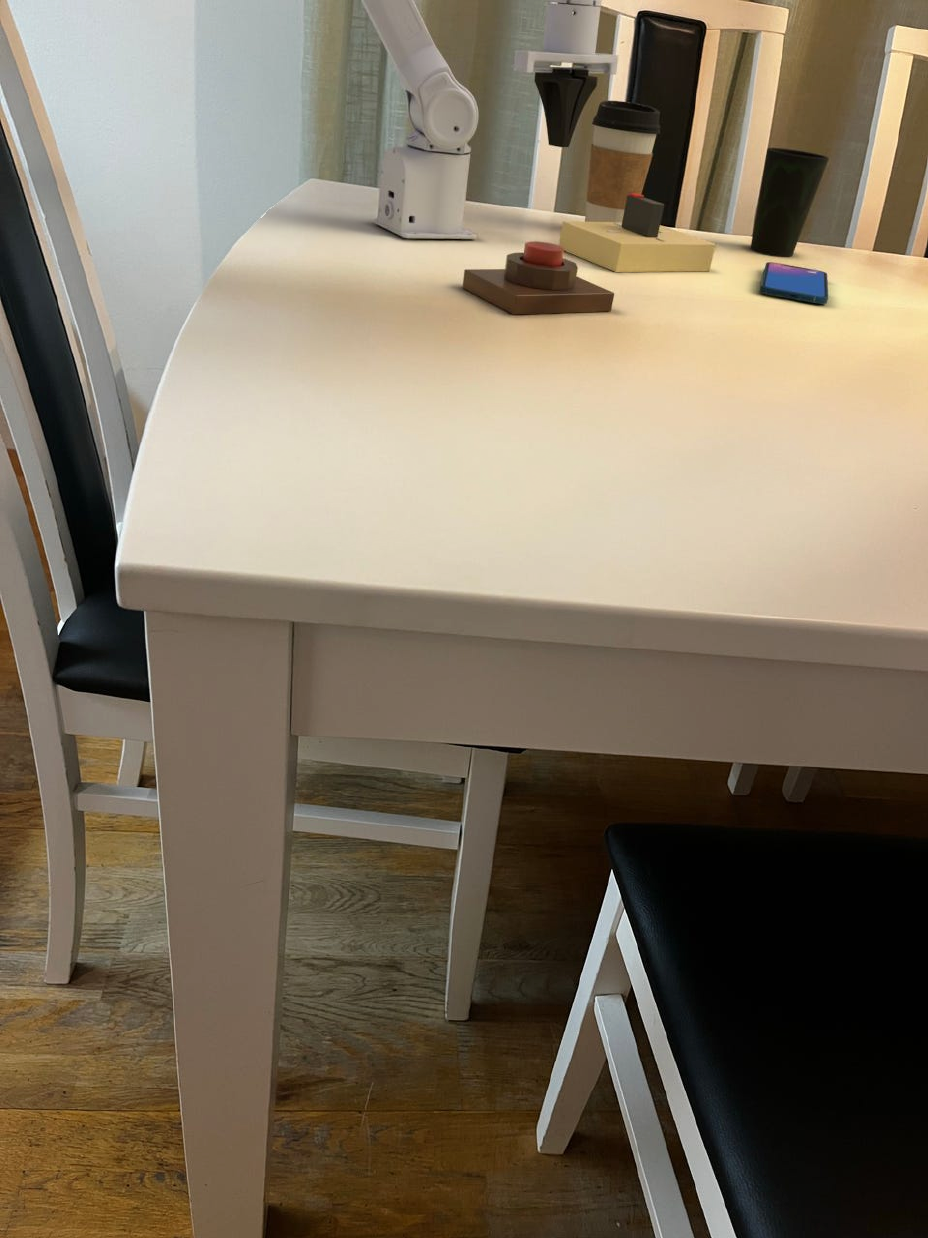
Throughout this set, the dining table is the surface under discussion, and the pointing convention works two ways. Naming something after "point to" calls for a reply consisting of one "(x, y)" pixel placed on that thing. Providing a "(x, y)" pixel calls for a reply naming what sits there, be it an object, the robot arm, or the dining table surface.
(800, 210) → the cup
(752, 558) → the dining table surface
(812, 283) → the smartphone
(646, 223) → the dark grey rectangular block
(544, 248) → the button
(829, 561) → the dining table surface
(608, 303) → the button block
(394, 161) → the robot arm
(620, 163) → the coffee cup
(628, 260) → the panel
